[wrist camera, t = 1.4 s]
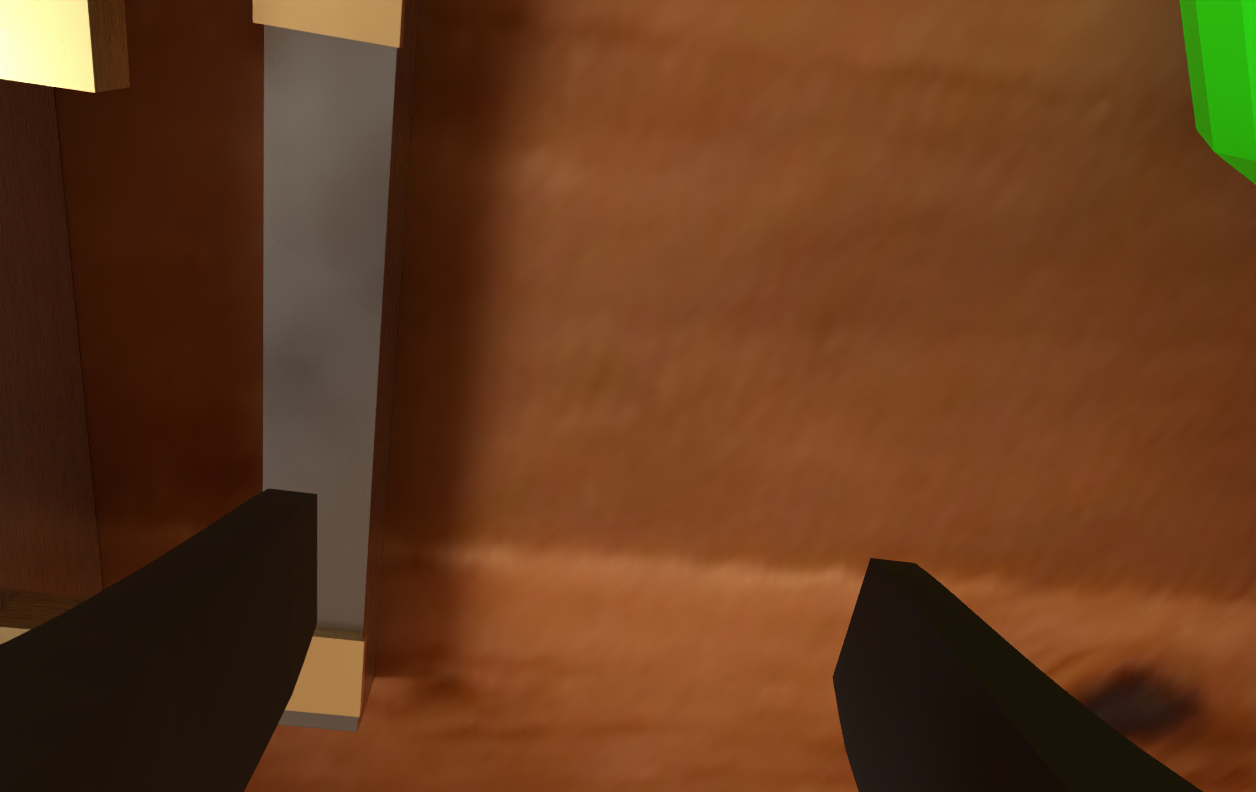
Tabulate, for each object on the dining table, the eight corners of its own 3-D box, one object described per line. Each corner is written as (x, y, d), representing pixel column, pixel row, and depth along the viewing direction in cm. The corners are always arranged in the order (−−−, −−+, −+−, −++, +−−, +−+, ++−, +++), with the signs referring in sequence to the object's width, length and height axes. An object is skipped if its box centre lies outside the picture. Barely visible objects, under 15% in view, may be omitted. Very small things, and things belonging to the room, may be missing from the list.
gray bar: (380, 669, 25) (358, 740, 22) (287, 659, 25) (254, 731, 22) (436, -130, 17) (410, -154, 15) (301, -156, 17) (252, -185, 14)
